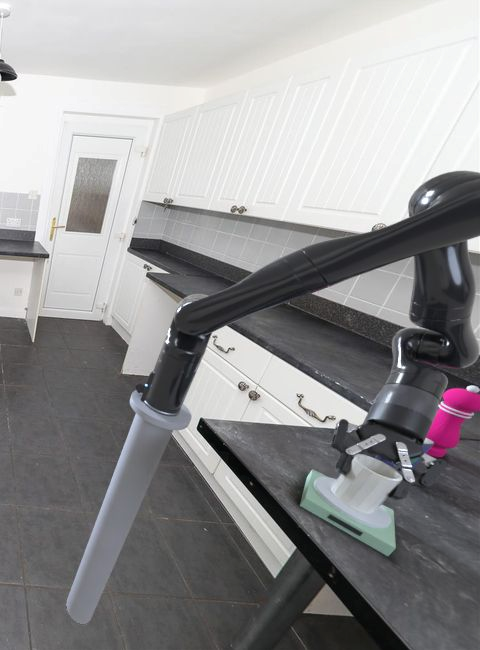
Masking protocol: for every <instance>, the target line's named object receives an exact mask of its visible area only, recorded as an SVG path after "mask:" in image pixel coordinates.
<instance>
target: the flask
mask: <svg viewBox="0 0 480 650" xmlns="http://www.w3.org/2000/svg"><path fill="white" fill-rule="evenodd" d="M433 445H434V442H433V441H431V440H429V439H428V438H426V439H425V441H424V443H423V445H422V448H423V451H424V453H425V454H426V453H427V451H428V450H429V449H430V448H431V447H432V446H433ZM374 458H376V459H378V460H380V461H382V462H384V463H386V464H387V465H389V466H391V467H392V468H394V467H393V463H392V462H389V461H387V460H385V459H383V458H382V457H380V456H378V455H374ZM410 461H411V464H412V471H413V470H414V469H415V467H416V466H417V465H418V464H419V463H420V461H422V460H421V459H420V458H419V457H418V458H415V459H411V460H410Z"/></svg>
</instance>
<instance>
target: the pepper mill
mask: <svg viewBox="0 0 480 650" xmlns="http://www.w3.org/2000/svg"><path fill="white" fill-rule="evenodd" d="M442 399H443V401H441V402H440V403H439V405H438V411H437V414H436V416H435V419H434V421H433V423H432V425H431V428H430V430H429V432H428V434H427V436H426V438H428V439H429V440H431V441H433V442H434V445H433V446H432V447H431V448H430V449H429V450H428V451H427V453H426V454H427V455H429V456H431V457H433V458H442V457H444V456H445V455H446V453H448V451H447V450H448V449H449V450H450V449H454V448H456V447H457V446H458V444H459V443H460V438H461V426H462V425H463V423H464V422H465V421H466V420H467V419H468V420H469V419H472V417H473V416H474V415H475V412H480V388H479V386H476V385H468V386H467V387H466V388H460V387H456V388H455V387H454V388H450V389H448V390H445V391H444V393H443V395H442Z"/></svg>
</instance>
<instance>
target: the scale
mask: <svg viewBox="0 0 480 650" xmlns="http://www.w3.org/2000/svg"><path fill="white" fill-rule="evenodd" d="M336 480H337V478H333V477H330V476H327V475H325V474H323V473H321V472H319V471H318V470H315V469H311V470H310V472H309V473H308V475H307V477H306V480H305V484H304V488H303V492H302V495H301V499H300V503H299V507H301V508H303V509H305V510H306V511H308V512H310V513H312V514H313V515H315V516H317V517H318V518H320V519H321V520H323V521H325V522H327V523H328V524H331V525H332V526H333V527H336V528H338V529H339V530H341V531H343V532H345V533H346V534H348V535H350V536H351V537H353V538H355V539H357V540H358V541H360V542H362V543H364V544H365V545H367V546H369V547H370V548H372V549H374V550H375V551H377V552H379V553H381V554H382V555H385V556H386V557H389V556H390V555H391V554H392V553H393V552H394V551H395V550H396V549H397V545H396V529H395V528H396V525H395V512H394V509H392V508H390V507H388V506H386V505H384V504H382V505H381V506H380V507H379V508H378V509H377V511H375V512H374V513H373V514H366V513H362V512H359V511H357V510H355V509H353V508H351V507H349V506H347V505H346V504H344V503H343V502H341V501H340V500H339V499H338V498H337V497H336V496H335V495H334V494H333V493H332V491H331V487H332V486H333V484H334V483H335V481H336Z"/></svg>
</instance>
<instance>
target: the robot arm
mask: <svg viewBox="0 0 480 650" xmlns="http://www.w3.org/2000/svg"><path fill="white" fill-rule="evenodd" d="M407 211H408V217H406V218H404V219H402V220H399V221H397V222H394V223H392V224H390V225H387V226H384V227H381V228H378V229H375V230H370V231H367V232H362V233H357V234H351V235H346V236H341V237H335V238H330V239H325V240H321V241H317V242H314V243H311V244H307V245H305V246H301V247H300V248H298V249H296V250H293V251H291V252H289V253H287V254H284V255H282V256H280V257H278V258H276V259H274V260H272V261H270V262H269V263H267V264H265V265H263V266H262V267H260V268H259V269H257V270H256V271H254V272H252V273H251V274H249V275H247V276H246V277H245V278H243V279H242V280H240V281H238V282H237V283H235V284H234V285H232V286H229V287H228V288H225V289H223V290H220V291H217V292H215V293H212V294H210V295H207V294H205V293H193V294H190V295H187V296H185V297H184V298H182V299H181V300H180V301H179V302H178V304H177V307H176V309H175V311H174V314H173V318H172V319H171V323H170V325H169V328H168V331H167V333H166V336H165V338H164V341H163V344H162V346H161V350H160V353H159V354H158V358H157V359H156V362H155V365H154V369H153V370H152V371H151V372H150V373H149V375H148V378H146V377H145V378H144V379H142V380H140V382H139V381H138V382H137V383H136V384H135V387H134V388H135V390H137V392H138V393H143V394H142V397H141V399H140V400H141V401H142V402H144V403H145V405H146V406H147V407H148V408H150V409H151V410H153V411H155V412H157V413H159V414H162V415H165V416H177V415H178V414H179V412H180V409H181V407H182V404H184V402H185V399H186V397H187V395H188V393H189V390H190V388H191V386H192V384H193V381H194V379H195V377H196V375H197V373H198V370H199V368H200V366H201V362H202V360H203V358H204V356H205V354H206V351H207V347H208V345H209V342H210V339H211V336H212V334H213V333H214V332H216V331H218V330H220V329H222V328H224V327H226V326H229V325H231V324H232V323H235V322H237V321H239V320H241V319H243V318H245V317H248V316H250V315H254V314H256V313H258V312H259V313H260V312H262V311H265V310H268V309H271V308H274V307H277V306H280V305H283V304H286V303H288V302H291V301H294V300H296V299H297V300H298V299H300V298H302V297H306V296H308V295H312V294H313V293H317V292H320V291H322V290H325V289H328V288H329V287H332V286H335V285H337V284H339V283H343V282H344V281H347V280H350V279H353V278H356V277H358V276H361V275H363V274H367V273H369V272H372V271H375V270H378V269H381V268H383V267H386V266H390V265H392V264H394V263H397V262H400V261H404V260H406V259H410V258H413V283H412V291H411V297H410V304H409V310H408V311H409V313H408V319H409V322H410V323H412V324H413V325H415V326H417V327H404V328H402V329H400V330H398V331H396V332H395V333H394V334H393V335H392V338H391V355H392V361H391V368H390V371H389V374H388V376H387V378H386V379H385V381H384V384H383V386H382V388H381V389H380V390H379V391H378V393H377V394H376V396H375V397H374V399H373V400H372V403H371V406H370V407H369V410H368V412H367V414H366V416H365V418H364V421H363V422H362V423H361V424H359V425H358V424H354V423H350V422H349V421H348V419H345V418H341V419H339V421H338V422H336V424H335V428H334V432H333V435H332V439H331V442H330V447H331V448H332V449H335V450H336V451H338V452H339V453H340V456H339V458H338V460H337V462H336V463H335V469H336V470H338V472H337V473H338V474H339V475H340V474H342V475H344V474H346V473H347V471H348V469H349V467H350V465H351V463H352V460H353V458H354V455H357V454H360V453H361V452H363V451H365V450H366V452H367V453H369V454H372V455H374V456H376V455H378V456H380V457H382V458H383V459H385V460H387V461H389V462H392V463H393V467H394V469H395V470H396V471H398V472H399V473H400V475H401V476H402V481H401V482H400V483H399V484H398V486H397V487H396V488H395V489H394V490H393V492H392V493H391V494H390V495H389V496H388V498H389V499H391V500H393V501H397V500H403V499H406V498H407V496H408V494H409V492H410V489H411V487H412V486H414V487H417V488H419V489H426V488H430V487H432V486H433V485H434V483H435V482H436V481H437V480H438V478H439V477H440V475H441V474H442V473H443V471H444V470H445V469H446V467H447V466H448V461H446V460H445V459H442V458H438V459H437V458H436V457H434V456H431V455H428V454H425V453H424V451H423V448H422V445H423V443H424V441H425V439H426V436H427V434H428V432H429V430H430V428H431V425H432V423H433V421H434V419H435V416H436V414H437V411H438V410H439V406H438V405H440V403H441V402H440V401H441V399H442V398H443V394H444V393H445V392H446V389H447V387H448V383H449V380H448V377H447V375H445V373H443V372H441V371H439V370H438V369H435V368H433V367H430V366H427V365H425V364H428V365H434V366H438V367H444V368H449V369H464V368H468V367H471V366H472V365H473V364H475V363H476V362H477V361H478V360H479V356H480V346H479V342H478V340H477V337H476V335H475V332H474V329H473V326H472V314H473V308H474V304H475V301H476V294H477V283H476V277H475V273H474V269H473V266H472V262H471V258H470V252H469V245H468V243H469V242H468V241H469V240H472V239H475V238H478V237H480V172H478V171H473V170H454V171H448V172H444V173H441V174H438V175H435V176H434V177H431V178H430V179H428V180H426V181H425V182H423V183H422V184H420V185H419V186H418V187H417V188H416V189H415V190H414V192H413V193H412V195H411V196H410V197H409V200H408V204H407ZM422 363H424V364H422ZM353 431H354V432H355V433H356V434H357V438H358V439H359V441H360V442H357V443H356V444H354V445H352V446H350V447H348V446H347V445H345V444H344V443H345V439H346V435H347V434H350V433H352V432H353ZM418 457H419V458H420V459H421V460H420V461H422V462H421V465H422V466H423V467H424V469H423V470H422V471H421V473H420V475H419V476H418V477H417V476H416V477H415V474H414V472H413V470H412V464H411V461H410V460H411V459H415V458H418Z"/></svg>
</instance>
